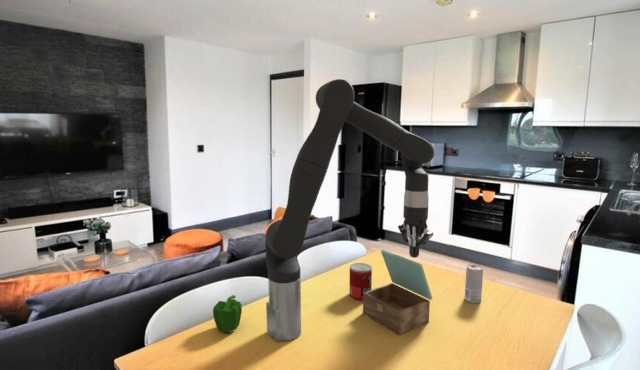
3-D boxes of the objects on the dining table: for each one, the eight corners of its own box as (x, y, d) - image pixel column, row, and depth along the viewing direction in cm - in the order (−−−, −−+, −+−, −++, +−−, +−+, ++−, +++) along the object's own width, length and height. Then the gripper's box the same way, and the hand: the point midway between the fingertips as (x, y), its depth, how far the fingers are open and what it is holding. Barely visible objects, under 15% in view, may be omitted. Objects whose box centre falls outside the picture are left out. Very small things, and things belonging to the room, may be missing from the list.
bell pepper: (215, 339, 105) (214, 306, 104) (212, 325, 113) (211, 294, 111) (245, 332, 108) (244, 300, 107) (240, 319, 116) (239, 289, 114)
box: (398, 335, 107) (399, 312, 106) (362, 313, 120) (362, 292, 119) (428, 322, 114) (429, 300, 113) (391, 302, 127) (392, 283, 126)
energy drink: (478, 296, 131) (480, 264, 129) (483, 304, 126) (485, 270, 124) (462, 296, 131) (464, 264, 130) (467, 303, 126) (469, 269, 124)
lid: (419, 265, 108) (421, 264, 108) (380, 250, 121) (382, 249, 122) (430, 300, 113) (432, 298, 113) (392, 282, 126) (393, 280, 127)
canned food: (364, 302, 127) (365, 272, 125) (345, 296, 131) (345, 267, 130) (375, 295, 133) (375, 265, 131) (356, 289, 138) (356, 261, 136)
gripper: (392, 202, 119) (390, 253, 122) (424, 209, 108) (422, 265, 111) (408, 199, 123) (406, 249, 126) (441, 206, 113) (438, 260, 115)
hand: (414, 256), depth 119 cm, fingers closed
